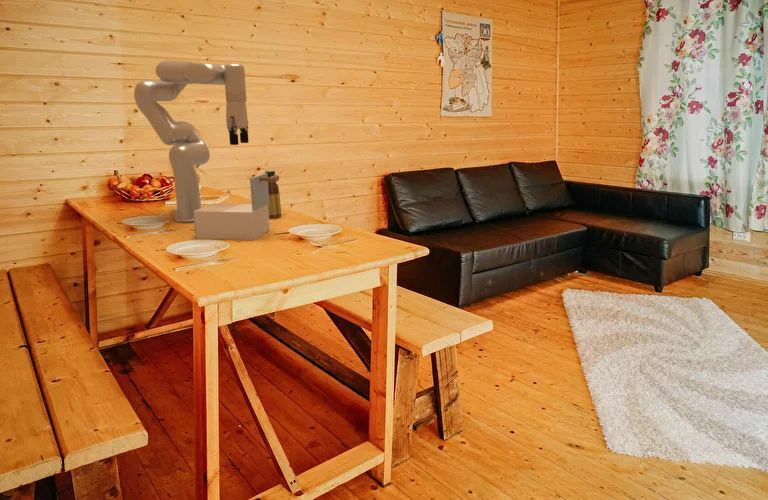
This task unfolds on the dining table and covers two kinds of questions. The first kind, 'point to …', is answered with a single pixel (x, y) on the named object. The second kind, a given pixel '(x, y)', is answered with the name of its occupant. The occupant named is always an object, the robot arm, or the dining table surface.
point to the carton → (231, 221)
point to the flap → (261, 190)
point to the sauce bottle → (273, 198)
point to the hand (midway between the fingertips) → (239, 143)
